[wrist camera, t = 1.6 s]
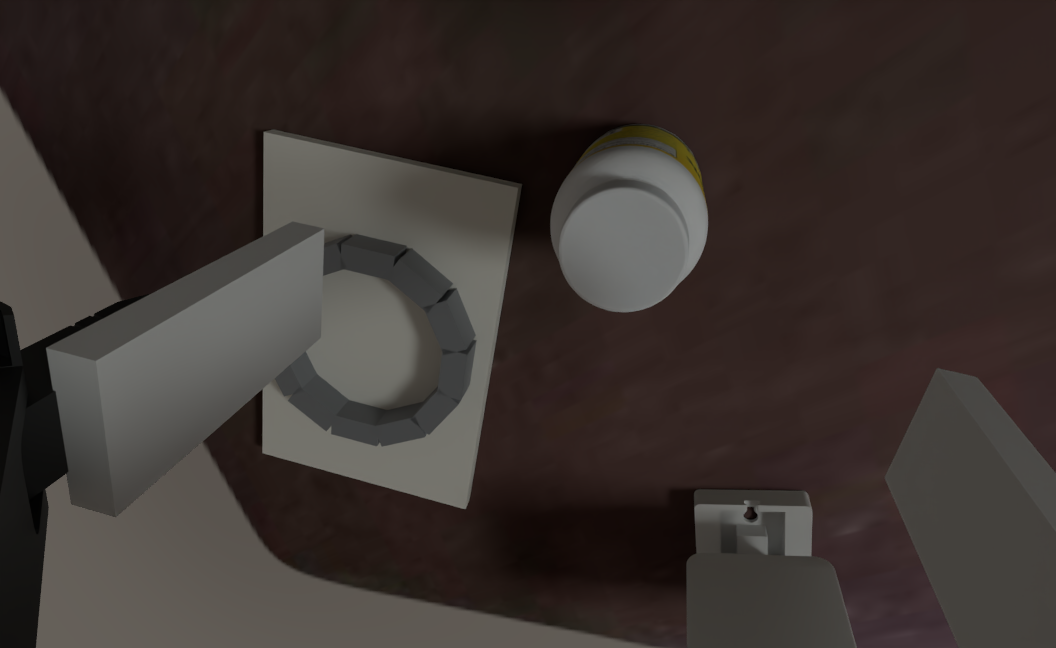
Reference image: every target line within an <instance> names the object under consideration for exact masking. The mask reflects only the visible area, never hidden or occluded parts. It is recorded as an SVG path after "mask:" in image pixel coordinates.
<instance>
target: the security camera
mask: <svg viewBox="0 0 1056 648" xmlns="http://www.w3.org/2000/svg"><path fill="white" fill-rule="evenodd" d="M747 507H754V511H755V512H756V513H757V515H758V516H757V517H756V518H755V519H753V520H748V519H746V518H745V517H744V516H743V515H744V513H745V512H746V511H747ZM694 513H695V533H696V553H697V554H694V555H692V556H691V557H689V559H688V560H687V564H686V576H687V648H857V647H856V643H855V640H854V636H853V633H852V629H851V626H850V622H849V618H848V615H847V611H846V608H845V604H844V600H843V597H842V593H841V590H840V586H839V583H838V579H837V575H836V572H835V569H834V567H833V565H832V564H831V563H830V562H828V561H826V560H825V559H822V558H819V557H813V556H811V544H812V508H811V504H810V500H809V496H808V494H807V493H806V492H805V491H783V490H714V489H698V490H696V491H695V492H694Z"/></svg>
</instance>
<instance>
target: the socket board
mask: <svg viewBox="0 0 1056 648" xmlns="http://www.w3.org/2000/svg"><path fill="white" fill-rule="evenodd" d="M521 188H522V184H519V183H515V182H510V181H506V180H501V179H497V178H492V177H487V176H483V175H478V174H474V173H469V172H465V171H460V170H456V169H451V168H446V167H442V166H437V165H433V164H428V163H424V162H419V161H414V160H410V159H405V158H401V157H396V156H392V155H387V154H383V153H378V152H373V151H369V150H364V149H360V148H355V147H351V146H346V145H342V144H337V143H332V142H328V141H323V140H319V139H314V138H310V137H305V136H301V135H296V134H291V133H287V132H282V131H278V130H269V131H265V132H264V177H263V236H265V235H267V234H269V233H271V232H273V231H275V230H277V229H279V228H281V227H282V226H284V225H286V224H288V223H290V222H292V221H293V222H298V223H302V224H307V225H311V226H315V227H320V228H324V258H323V288H322V318H321V338H320V339H319V340H318V341H317V342H316V343H314V344H313V345H312V346H311V347H310V348H309V349H308V350H306V351H305V352H304V353H303V354H302V355H301V356H300V357H298V358H297V359H296V360H295V361H294V362H293V363H292V364H290V365H289V366H288V367H287V368H286V369H285V370H284V371H282V372H281V373H280V374H279V375H278V376H277V377H276V378H274V379H273V380H272V381H271V382H270V383H269V384H268V385H266V386H265V387H264V388H263V453H264V454H268V455H272V456H275V457H279V458H282V459H286V460H290V461H293V462H297V463H300V464H304V465H308V466H311V467H315V468H318V469H322V470H326V471H329V472H333V473H336V474H340V475H344V476H347V477H351V478H354V479H358V480H362V481H365V482H369V483H372V484H376V485H380V486H383V487H387V488H391V489H394V490H398V491H401V492H405V493H409V494H412V495H416V496H419V497H423V498H427V499H430V500H434V501H437V502H441V503H445V504H448V505H452V506H455V507H459V508H463V509H466V507H467V504H468V502H469V500H470V494H471V488H472V482H473V476H474V470H475V464H476V458H477V452H478V446H479V440H480V434H481V428H482V422H483V416H484V410H485V404H486V398H487V392H488V386H489V380H490V374H491V368H492V362H493V356H494V350H495V344H496V338H497V332H498V326H499V320H500V314H501V308H502V302H503V296H504V290H505V284H506V278H507V272H508V266H509V260H510V254H511V248H512V242H513V236H514V230H515V224H516V218H517V212H518V206H519V200H520V194H521Z"/></svg>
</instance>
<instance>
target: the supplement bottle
mask: <svg viewBox="0 0 1056 648" xmlns="http://www.w3.org/2000/svg"><path fill="white" fill-rule="evenodd" d="M550 231H551V240H552V244H553V248H554V251H555V253H556V256H557V258H558V260H559V263H560V266H561V269H562V272H563V274H564V277H565V278H566V280H567V282H568V283H569V285H570V286H571V287H572V289H573V290H574V291H575V292H576V293H577V294H578V295H579V296H580V297H581V298H583V299H584V300H585V301H587V302H588V303H590V304H592V305H594V306H596V307H599V308H602V309H605V310H608V311H614V312H633V311H638V310H643V309H645V308H648V307H651V306H653V305H655V304H656V303H658V302H660V301H662V300H663V299H664V298H666V297H667V296H668V295H669V294H670V293H671V292H672V291H673V290H674V289H675V287H676V286H677V285H678V284H679V283H680V282H681V281H682V280H683V279H684V278H685V277H686V276H687V275H688V274H689V273H690V272H691V271H692V269H693V268H694V267H695V265H696V263H697V262H698V260H699V258H700V256H701V254H702V252H703V249H704V246H705V242H706V238H707V231H708V212H707V205H706V200H705V195H704V190H703V185H702V179H701V174H700V170H699V167H698V164H697V162H696V160H695V157H694V156H693V154H692V152H691V151H690V149H689V148H688V147H687V146H686V144H685V143H684V142H683V141H682V140H680V139H679V138H678V137H677V136H675V135H674V134H672V133H671V132H669V131H667V130H665V129H662V128H660V127H657V126H653V125H648V124H630V125H625V126H621V127H618V128H615V129H612V130H610V131H608V132H607V133H605V134H603V135H602V136H600V137H599V138H598V139H596V140H595V141H594V142H593V143H592V144H591V145H590V146H589V147H588V148H587V150H586V151H585V152H584V153H583V155H582V156H581V158H580V159H579V161H578V162H577V163H576V165H575V166H574V168H573V169H572V171H571V172H570V173H569V174H568V176H567V177H566V179H565V180H564V182H563V183H562V185H561V187H560V189H559V191H558V193H557V195H556V198H555V200H554V204H553V207H552V212H551V219H550Z"/></svg>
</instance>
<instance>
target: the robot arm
mask: <svg viewBox="0 0 1056 648" xmlns="http://www.w3.org/2000/svg"><path fill="white" fill-rule="evenodd" d="M323 258H324V228H320V227H315V226H311V225H307V224H302V223H298V222H293V221H292V222H290V223H288V224H286V225H284V226H282V227H281V228H279V229H277V230H275V231H273V232H271V233H269V234H267V235H265V236H263V237H261V238H259V239H257V240H255V241H253V242H251V243H249V244H247V245H245V246H244V247H242V248H240V249H238V250H236V251H234V252H232V253H230V254H228V255H226V256H224V257H222V258H220V259H218V260H216V261H214V262H212V263H210V264H208V265H207V266H205V267H203V268H201V269H199V270H197V271H195V272H193V273H191V274H189V275H187V276H185V277H183V278H181V279H179V280H177V281H175V282H173V283H171V284H169V285H168V286H166V287H164V288H162V289H160V290H158V291H156V292H154V293H152V294H150V295H149V294H147V295H143V296H139V297H135V298H131V299H127V300H124V301H120V302H117V303H115V304H113V305H111V306H109V307H107V308H105V309H103V310H101V311H99V312H97V313H95V314H94V316H93V317H92V316H89V317H87V318H85V319H83V320H80V321H79V322H76V323H75V326H68V327H66V328H65V329H62V330H60V331H58V332H56V333H55V334H52V335H50V336H48V337H46V338H44V339H42V340H40V341H38V342H36V343H34V344H32V345H30V346H28V347H26V348H24V349H22V350H20V346H19V341H18V335H17V330H16V324H15V319H14V314H13V311H12V308H11V307H10V306H8V305H6V304H4V303H2V302H0V648H36V639H37V628H38V616H39V606H40V594H41V584H42V572H43V561H44V551H45V540H46V528H47V518H48V501H47V496H46V491H45V489H46V488H47V487H48V486H50V485H51V484H52V483H54V482H55V481H56V480H58V479H59V478H61V477H62V476H63V475H65V474H67V480H68V487H69V493H70V499H71V504H72V505H76V506H79V507H82V508H86V509H89V510H93V511H96V512H100V513H103V514H107V515H110V516H113V517H117V516H118V515H119V514H120V513H121V512H122V511H123V510H125V509H126V508H127V507H128V506H129V505H130V504H131V503H133V502H134V501H135V500H136V499H137V498H138V497H139V496H141V495H142V494H143V493H144V492H145V491H146V490H148V488H150V487H151V486H152V485H153V484H154V483H156V482H157V481H158V480H159V479H160V478H161V477H162V476H163V475H165V474H166V473H167V472H168V471H169V470H170V469H172V468H173V467H174V466H175V465H176V464H177V463H178V462H180V461H181V460H182V459H183V458H184V457H185V456H186V455H188V454H189V453H190V452H191V451H192V450H193V449H194V448H196V447H197V446H198V445H199V444H200V443H201V442H202V441H204V440H205V439H206V438H207V437H208V436H209V435H210V434H212V433H213V432H214V431H215V430H216V429H217V428H218V427H220V426H221V425H222V424H223V423H224V422H225V421H226V420H228V419H229V418H230V417H231V416H232V415H233V414H234V413H236V412H237V411H238V410H239V409H240V408H241V407H242V406H244V405H245V404H246V403H247V402H248V401H249V400H250V399H252V398H253V397H254V396H255V395H256V394H257V393H258V392H260V391H261V390H262V389H263V388H264V387H265V386H266V385H268V384H269V383H270V382H271V381H272V380H273V379H274V378H276V377H277V376H278V375H279V374H280V373H281V372H282V371H284V370H285V369H286V368H287V367H288V366H289V365H290V364H292V363H293V362H294V361H295V360H296V359H297V358H298V357H300V356H301V355H302V354H303V353H304V352H305V351H306V350H308V349H309V348H310V347H311V346H312V345H313V344H314V343H316V342H317V341H318V340H319V339H320V338H321V318H322V288H323ZM885 480H886V482H887V485H888V487H889V489H890V492H891V494H892V496H893V498H894V501H895V503H896V505H897V508H898V510H899V512H900V514H901V517H902V519H903V521H904V524H905V526H906V528H907V530H908V533H909V535H910V537H911V540H912V542H913V544H914V546H915V549H916V551H917V553H918V556H919V558H920V560H921V562H922V565H923V567H924V569H925V572H926V574H927V576H928V578H929V581H930V583H931V585H932V588H933V590H934V592H935V594H936V597H937V599H938V601H939V604H940V606H941V608H942V610H943V613H944V615H945V617H946V620H947V622H948V624H949V626H950V629H951V631H952V633H953V636H954V638H955V640H956V642H957V645H958V647H959V648H1056V473H1055V472H1054V471H1053V469H1052V468H1051V467H1050V466H1049V464H1048V463H1047V462H1046V461H1045V460H1044V458H1043V457H1042V456H1041V455H1040V454H1039V452H1038V451H1037V450H1036V449H1035V447H1034V446H1033V445H1032V444H1031V443H1030V441H1029V440H1028V439H1027V438H1026V436H1025V435H1024V434H1023V433H1022V432H1021V430H1020V429H1019V428H1018V427H1017V425H1016V424H1015V423H1014V422H1013V421H1012V419H1011V418H1010V417H1009V416H1008V414H1007V413H1006V412H1005V411H1004V410H1003V408H1002V407H1001V406H1000V405H999V404H998V402H997V401H996V400H995V399H994V397H993V396H992V395H991V394H990V393H989V391H988V390H987V389H986V388H985V386H984V385H983V384H982V383H981V382H980V380H979V379H978V378H977V377H974V376H969V375H965V374H961V373H956V372H952V371H947V370H943V369H939V368H937V369H936V371H935V373H934V375H933V377H932V379H931V382H930V384H929V386H928V388H927V390H926V392H925V394H924V396H923V398H922V400H921V402H920V405H919V407H918V409H917V411H916V413H915V415H914V417H913V419H912V421H911V423H910V425H909V428H908V430H907V432H906V434H905V436H904V438H903V440H902V442H901V444H900V446H899V448H898V451H897V453H896V455H895V457H894V459H893V461H892V463H891V465H890V467H889V469H888V471H887V474H886V476H885Z"/></svg>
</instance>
